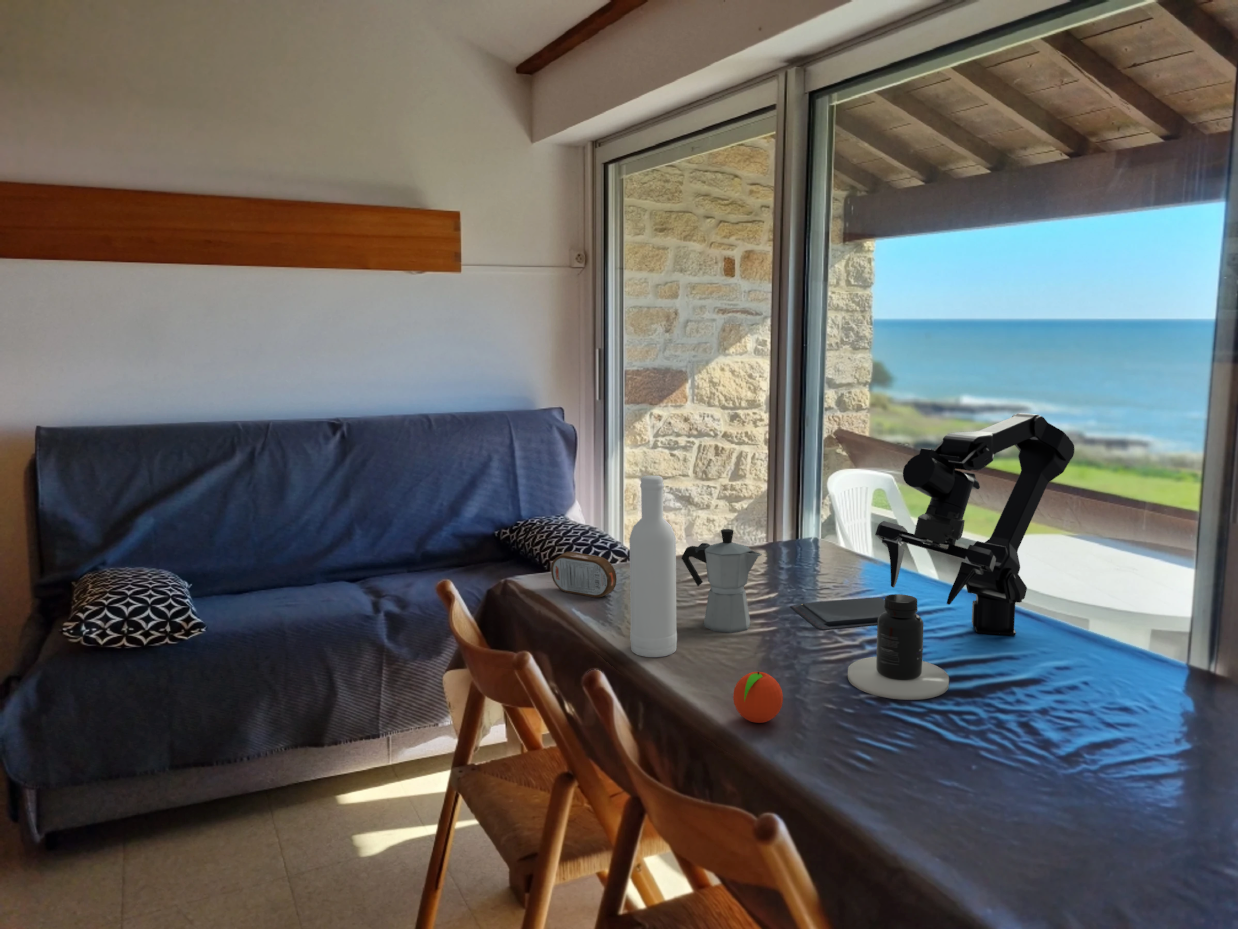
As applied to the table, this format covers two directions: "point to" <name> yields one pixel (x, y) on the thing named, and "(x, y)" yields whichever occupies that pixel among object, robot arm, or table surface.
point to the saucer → (898, 681)
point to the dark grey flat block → (842, 613)
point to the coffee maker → (724, 581)
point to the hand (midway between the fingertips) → (919, 595)
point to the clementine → (758, 697)
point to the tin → (583, 574)
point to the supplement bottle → (899, 639)
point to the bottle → (653, 576)
